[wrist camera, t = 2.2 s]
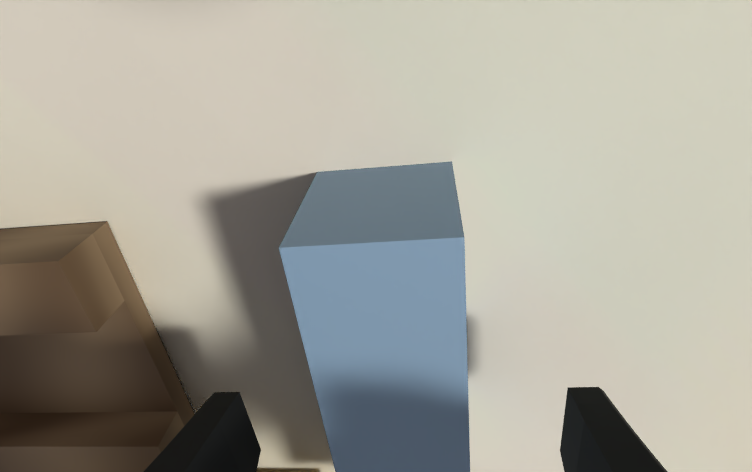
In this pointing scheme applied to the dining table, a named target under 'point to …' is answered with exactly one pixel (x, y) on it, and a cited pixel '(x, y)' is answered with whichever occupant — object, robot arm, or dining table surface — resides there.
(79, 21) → the dining table surface
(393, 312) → the stick blue
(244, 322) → the dining table surface
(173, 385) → the comb board
